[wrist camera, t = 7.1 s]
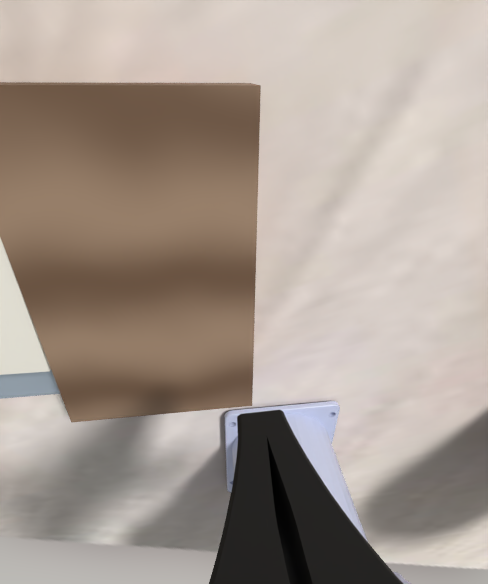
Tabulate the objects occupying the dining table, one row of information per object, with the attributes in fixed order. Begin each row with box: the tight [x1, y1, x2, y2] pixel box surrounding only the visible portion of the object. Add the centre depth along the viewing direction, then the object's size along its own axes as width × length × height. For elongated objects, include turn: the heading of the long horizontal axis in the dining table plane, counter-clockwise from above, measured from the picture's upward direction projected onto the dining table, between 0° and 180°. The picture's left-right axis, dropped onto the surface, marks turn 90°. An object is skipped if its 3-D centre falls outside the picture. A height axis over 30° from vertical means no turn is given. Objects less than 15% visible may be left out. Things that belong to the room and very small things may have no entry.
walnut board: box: [0, 83, 260, 422], centre depth 17 cm, size 16×10×2 cm, turn 0°
